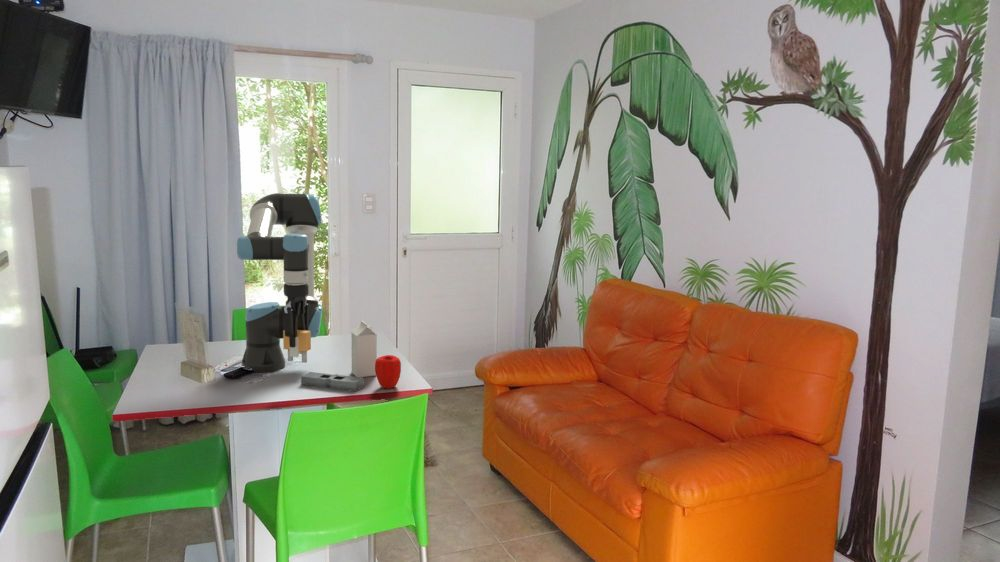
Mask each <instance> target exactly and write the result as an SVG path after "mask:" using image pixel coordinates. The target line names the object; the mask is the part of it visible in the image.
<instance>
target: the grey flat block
mask: <svg viewBox="0 0 1000 562" xmlns="http://www.w3.org/2000/svg"><path fill="white" fill-rule="evenodd" d="M364 378H365V377H356V376H352V375H343V374H342V375H341V374H335V373H334V374H333V373H325V372H317V371H316V372H315V371H309V372H307V373H305V374H303V375H300V386H303V387H304V386H305V387H315V388H322V389H331V390H333V389H334V390H339V389H340V391H348V390H351V391H350V392H357V391H358V389H359V388H360V389H362V388H363V387H364V384H365V382H364V380H365V379H364ZM362 386H363V387H362ZM361 387H362V388H361ZM360 389H359V390H360ZM356 390H357V391H356Z"/></svg>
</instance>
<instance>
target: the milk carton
mask: <svg viewBox="0 0 1000 562" xmlns="http://www.w3.org/2000/svg"><path fill="white" fill-rule="evenodd" d="M373 329H374V327H373V326H372V325H370V324H367V323H366V322H364V321H363V320H360V323H359V325H357V326H356V327H355V328H354V329H353V330H352V331H351V373H352V375H354V377H362V378H365V377H374V376H376V373H375V362H376V359H377V358H378V357H377V354H378V353H377V352H378V351H377V346H378V345H377V343H378V342H377V334H376V333H375V332H374V331H373Z"/></svg>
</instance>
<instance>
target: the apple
mask: <svg viewBox="0 0 1000 562" xmlns="http://www.w3.org/2000/svg"><path fill="white" fill-rule="evenodd" d="M375 373H376V375H375V376H376V380H377V381H378V383H379V385H380V387H381V388H383V387H384V389H386V388H391V389H393V388H392V387H394V388H395V387H397V385H398V383H399V381H400V378H401V373H402V362H401V359H400V358H399V357H397V356H396V355H393V354H391V355H390V354H386V355H382V356H379V357H377V359H376V362H375Z"/></svg>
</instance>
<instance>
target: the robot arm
mask: <svg viewBox="0 0 1000 562" xmlns="http://www.w3.org/2000/svg"><path fill="white" fill-rule="evenodd" d="M321 214H322V213H321V207H320V200H319V197H318V196H317V195H316V194H311V193H310V194H309V193H305V192H304V193H281V192H278V193H271V194H268V195H265V196H263V197H261V198H260V199H257V201H255V203H253V205H252V206H251V207H250V211H249V219H250V223H249V226H248V230H247V233H246V235H245V236H239V237H238V238H237V240H236V255H237V258H238V259H239V260H242V261H243V260H244V261H283V283H284V285H283V295H284V296H285V297H287V299H286V301H285V306H280V303H279V302H278V301H277V302H274V301H273V302H272V301H271V302H270V301H269V302H261V303H257V304H253V305H251V306H248V307H247V308H246V310H245V319H244V322H245V349H244V353H243V357H242V360H241V367H242V366H245V367H249V368H252V369H253V371H254V372H253V373H268V372H270V373H271V372H274V371H275V372H276V371H279V370H281V369H284V368H285V367H286V358H285V355H284V353H283V350H282V348H281V344H280V343H281V342H280V341H281V339H282V340H283V331H284V330H285V336H286V337H289V342H290V356H291V357H293V358H298V357H299V356H300V355H302V351H299V349H298V337H296V336H297V330H305V331H311V339H312V338H316V337H318V336H319V334H320V330H321V323H322V317H323V315H322V314H323V306H321V305H319V300H318V299H317V298H316V297H315V258H314V257H315V233H316V232H318V230H319V227H320V226H322V225H323V222H322V215H321ZM274 225H277V226H278V225H282V226H285V230H286V231H287V232H288V233H286V234H284V235H283V236H272V232H273V227H274Z"/></svg>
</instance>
